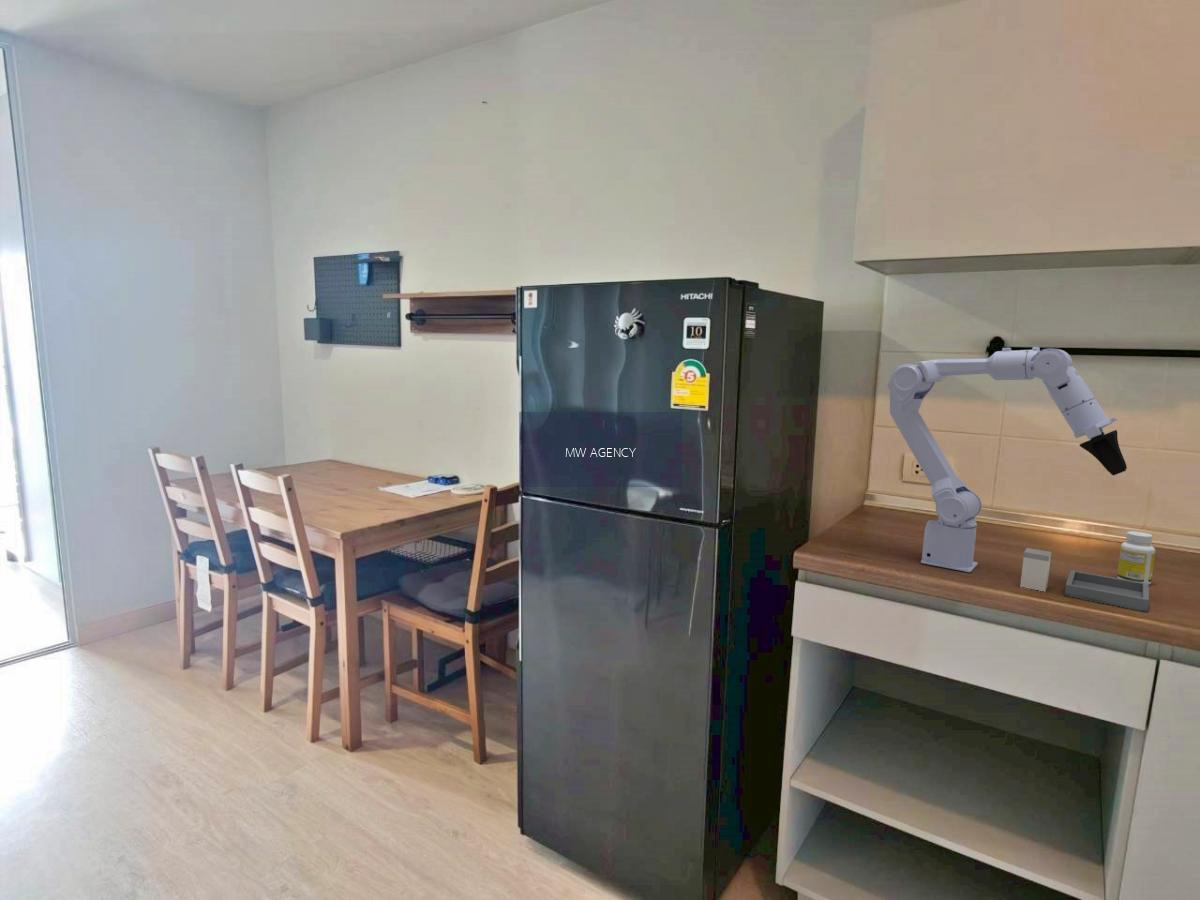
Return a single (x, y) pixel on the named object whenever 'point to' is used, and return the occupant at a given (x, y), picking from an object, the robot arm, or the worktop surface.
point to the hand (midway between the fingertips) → (1120, 472)
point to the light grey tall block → (1035, 569)
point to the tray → (1108, 590)
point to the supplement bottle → (1136, 558)
